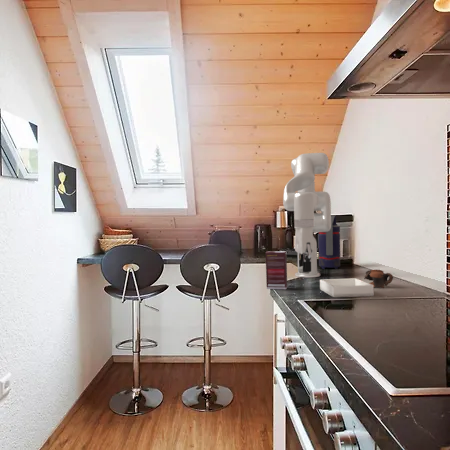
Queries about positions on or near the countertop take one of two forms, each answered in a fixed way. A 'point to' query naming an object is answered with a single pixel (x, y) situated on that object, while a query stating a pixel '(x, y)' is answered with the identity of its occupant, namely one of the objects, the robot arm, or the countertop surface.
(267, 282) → the supplement box
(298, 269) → the figurine
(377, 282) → the brown two-tone ridged part
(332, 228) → the navy blue canister
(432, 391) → the countertop surface
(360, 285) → the bin
